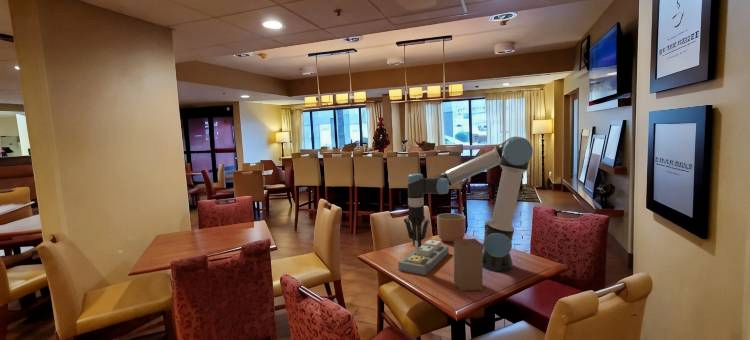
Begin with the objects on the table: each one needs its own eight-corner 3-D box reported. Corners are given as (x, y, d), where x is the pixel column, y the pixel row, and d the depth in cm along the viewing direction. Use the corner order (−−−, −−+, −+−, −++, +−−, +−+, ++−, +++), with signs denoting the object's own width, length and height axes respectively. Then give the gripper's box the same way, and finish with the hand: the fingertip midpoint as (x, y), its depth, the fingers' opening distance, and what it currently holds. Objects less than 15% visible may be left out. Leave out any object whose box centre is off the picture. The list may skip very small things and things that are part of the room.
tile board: (448, 253, 199) (448, 246, 199) (425, 275, 170) (425, 267, 169) (424, 249, 206) (424, 242, 205) (398, 270, 177) (398, 262, 176)
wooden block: (475, 281, 162) (476, 237, 160) (483, 291, 152) (483, 245, 150) (453, 282, 161) (453, 238, 159) (459, 291, 152) (459, 245, 149)
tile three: (425, 264, 179) (425, 256, 179) (420, 269, 173) (420, 261, 173) (412, 262, 183) (412, 254, 182) (407, 267, 177) (407, 258, 176)
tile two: (433, 254, 189) (433, 246, 188) (428, 258, 183) (428, 250, 182) (421, 252, 192) (421, 244, 192) (416, 256, 186) (416, 248, 186)
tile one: (440, 248, 198) (440, 241, 198) (436, 252, 192) (436, 244, 192) (428, 246, 202) (428, 239, 201) (424, 250, 196) (424, 242, 195)
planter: (471, 241, 219) (471, 217, 217) (450, 246, 210) (450, 221, 209) (452, 234, 233) (452, 211, 232) (431, 239, 225) (431, 215, 223)
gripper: (431, 205, 175) (432, 252, 177) (407, 203, 181) (408, 248, 184) (425, 208, 168) (427, 257, 171) (400, 206, 175) (402, 253, 177)
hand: (417, 252), depth 177 cm, fingers closed
